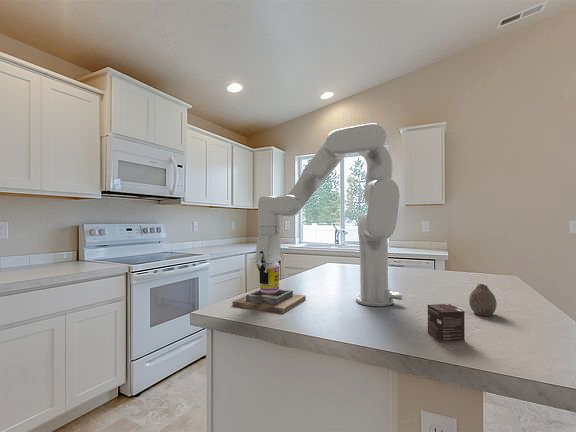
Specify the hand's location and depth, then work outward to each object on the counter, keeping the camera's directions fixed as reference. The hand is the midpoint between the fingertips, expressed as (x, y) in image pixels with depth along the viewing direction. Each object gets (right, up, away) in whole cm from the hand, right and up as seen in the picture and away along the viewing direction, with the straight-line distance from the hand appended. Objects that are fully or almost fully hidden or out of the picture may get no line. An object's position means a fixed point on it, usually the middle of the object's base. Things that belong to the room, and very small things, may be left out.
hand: (269, 281), depth 106 cm
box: (+45, -7, -33) cm, 56 cm away
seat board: (0, -8, 0) cm, 8 cm away
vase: (+65, -7, -16) cm, 67 cm away
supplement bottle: (0, -4, 0) cm, 4 cm away
